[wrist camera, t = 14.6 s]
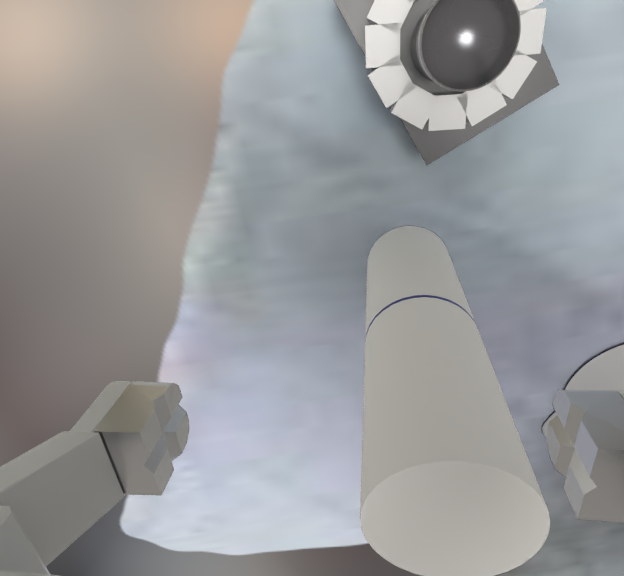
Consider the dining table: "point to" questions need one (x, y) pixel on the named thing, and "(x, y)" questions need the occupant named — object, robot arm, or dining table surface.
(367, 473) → the cylindrical container
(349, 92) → the dining table surface
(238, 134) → the dining table surface
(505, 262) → the dining table surface
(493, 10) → the lens
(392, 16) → the camera body
